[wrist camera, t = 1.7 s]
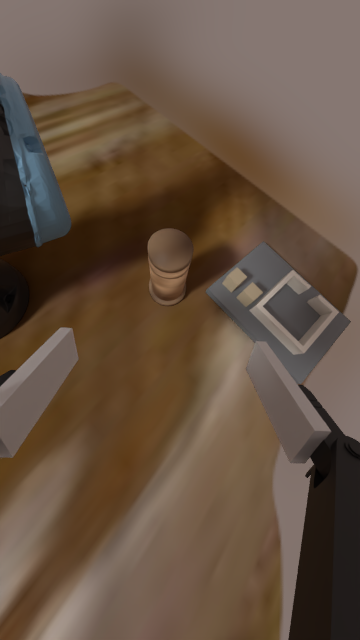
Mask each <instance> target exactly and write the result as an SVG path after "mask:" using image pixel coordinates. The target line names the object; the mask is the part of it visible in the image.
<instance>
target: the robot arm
mask: <svg viewBox="0 0 360 640" xmlns="http://www.w3.org/2000/svg"><path fill="white" fill-rule="evenodd" d="M70 228H71V218H70V215H69V212H68V209H67V206H66V204H65V201H64V198H63V196H62V193H61V190H60V187H59V185H58V182H57V180H56V177H55V174H54V172H53V169H52V167H51V164H50V161H49V159H48V156H47V154H46V151H45V148H44V146H43V143H42V141H41V138H40V136H39V133H38V130H37V128H36V125H35V123H34V120H33V118H32V115H31V113H30V111H29V108H28V106H27V104H26V101H25V99H24V96H23V94H22V91H21V89H20V87H19V85H18V84H17V82H16V81H15V80H14V79H12V78H10V77H7V76H3V75H2V74H1V73H0V256H2V255H5V254H9V253H12V252H16V251H20V250H23V249H27V248H30V247H34V246H37V247H40V246H41V245H42V243H45V242H48V241H51V240H54V239H57V238H60V237H63V236H64V235H66V234H67V233H68V232H69V230H70ZM28 301H29V289H28V285H27V282H26V280H25V278H24V277H23V275H22V274H21V273H20V272H19V271H18V270H17V269H15V268H14V267H13V266H11V265H10V264H8V263H7V262H5V261H4V260H2V259H0V338H1V337H3V336H4V335H6V334H7V333H8V332H9V331H11V330H12V329H13V328H14V327H15V326H16V325H17V323H18V322H19V321H20V320H21V318H22V316H23V315H24V313H25V311H26V308H27V305H28ZM77 361H78V354H77V349H76V345H75V340H74V335H73V330H72V328H60V329H59V330H58V331H57V332H55V333H54V334H53V335H52V336H51V337H50V338H49V339H48V340H47V341H46V342H45V343H44V344H43V345H42V346H41V347H40V348H39V349H38V350H37V351H36V352H35V353H34V354H33V355H32V356H31V357H30V358H29V359H28V360H27V361H26V362H25V363H24V364H23V365H22V366H21V367H20V368H19V369H18V370H10V371H8V372H7V373H5V374H3V375H1V376H0V457H13V456H14V455H15V453H16V452H17V450H18V449H19V447H20V446H21V444H22V443H23V441H24V440H25V438H26V437H27V435H28V434H29V432H30V431H31V429H32V428H33V426H34V425H35V423H36V422H37V420H38V419H39V417H40V416H41V414H42V413H43V412H44V410H45V409H46V407H47V406H48V404H49V403H50V401H51V400H52V398H53V397H54V395H55V394H56V392H57V391H58V389H59V388H60V386H61V385H62V383H63V382H64V380H65V379H66V377H67V376H68V374H69V373H70V371H71V370H72V368H73V367H74V365H75V364H76V362H77ZM246 370H247V372H248V374H249V376H250V379H251V381H252V383H253V385H254V387H255V389H256V391H257V393H258V396H259V398H260V400H261V402H262V404H263V406H264V408H265V410H266V413H267V415H268V417H269V419H270V421H271V423H272V425H273V427H274V430H275V432H276V434H277V436H278V438H279V440H280V442H281V444H282V447H283V449H284V451H285V453H286V455H287V457H288V459H289V461H290V463H305V462H306V461H307V460H308V459H309V458H311V459H312V461H313V463H314V465H313V466H312V467H311V469H310V470H309V471H308V472H307V473H306V475H305V476H306V477H307V478H308V477H309V476H310V475H311V478H310V486H309V493H308V500H307V508H306V515H305V522H304V530H303V537H302V544H301V552H300V559H299V566H298V574H297V581H296V589H295V596H294V603H293V610H292V618H291V626H290V632H289V640H360V443H359V442H358V441H356V440H355V439H353V438H351V437H348V436H345V435H344V434H343V432H342V431H341V430H340V429H339V427H338V426H337V425H336V423H335V422H334V421H333V419H332V418H331V417H330V416H329V414H328V413H327V412H326V411H325V409H324V408H322V405H321V404H320V403H319V402H318V401H317V399H316V398H315V396H314V395H313V394H312V393H311V392H310V391H309V390H308V389H307V388H306V387H304V386H303V385H297V384H296V382H295V381H294V379H293V378H292V377H291V375H290V374H289V373H288V371H287V370H286V369H285V367H284V366H283V364H282V363H281V362H280V360H279V359H278V358H277V356H276V355H275V353H274V352H273V351H272V349H271V348H270V347H269V345H268V344H267V343H266V342H263V341H256V342H255V345H254V348H253V351H252V353H251V356H250V359H249V362H248V364H247V367H246Z"/></svg>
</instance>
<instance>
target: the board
mask: <svg viewBox="0 0 360 640" xmlns="http://www.w3.org/2000/svg"><path fill="white" fill-rule="evenodd" d="M206 293H207V294H208V295H209V296H210V297H211V298H212V299H213V300H214V301H215V302H216V303H217V304H218V305H219V306H220V307H221V308H222V309H223V310H224V312H225V313H226V314H227V315H228V316H229V317H230V318H231V319H232V320H233V321H234V322H235V323H236V324H237V325H238V326H239V327H240V328H241V329H242V330H243V331H244V332H245V333H246V334H247V335H248V336H249V337H250V338H251V339H252V340H253V341H254V342H256V341H263V342H266V343H267V344H268V345H269V347H270V348H271V349H272V351H273V352H274V353H275V355H276V356H277V358H278V359H279V360H280V362H281V363H282V364H283V366H284V367H285V369H286V370H287V371H288V373H289V374H290V375H291V377H292V378H293V379H294V381H295V382H296V384H301V383H302V382H303V381H304V380H305V378H306V377H307V376H308V375H309V373H310V372H311V371H312V370H313V368H314V367H315V366H316V365H317V363H318V362H319V361H320V360H321V358H322V357H323V356H324V355H325V353H326V352H327V351H328V350H329V348H330V347H331V346H332V345H333V343H334V342H335V341H336V340H337V338H338V337H339V336H340V335H341V333H342V332H343V331H344V330H345V328H346V327H347V326H348V325H349V323H350V322H351V321H350V320H348V318H346V317H345V316H344V315H343V314H342V313H341V312H340V311H339V310H338V309H337V308H336V307H334V306H333V305H332V304H331V303H330V302H329V301H328V300H327V299H326V298H325V297H324V296H322V295H321V294H320V293H319V292H318V291H317V290H316V289H315V288H314V287H313V286H312V285H310V284H309V283H308V282H307V281H306V280H305V279H304V278H303V277H302V276H301V275H300V274H299V273H297V272H296V271H295V270H294V269H293V268H292V267H291V266H290V265H289V264H288V263H287V262H285V261H284V260H283V259H282V258H281V257H280V256H279V255H278V254H277V253H276V252H275V251H273V250H272V249H271V248H270V247H269V246H268V245H267V244H266V243H265V242H264V241H263V242H262V243H261V244H260V245H258V246H257V247H256V248H255V249H254V250H252V251H251V252H250V253H249V254H248V255H247V256H245V257H244V258H243V259H242V260H241V261H240V262H238V263H237V264H236V265H235V266H234V267H232V268H231V269H230V270H229V271H228V272H227V273H225V274H224V275H223V276H222V277H221V278H219V279H218V280H217V281H216V282H215V283H214V284H212V285H211V286H210V287H209V288H208V289H207V290H206Z"/></svg>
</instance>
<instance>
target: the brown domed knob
mask: <svg viewBox="0 0 360 640" xmlns="http://www.w3.org/2000/svg"><path fill="white" fill-rule="evenodd" d="M147 248H148V260H149V266H150V275H151V280H150V282H149V291H150V295H151V297H152V298H153V300H154V301H155V302H157V303H158V304H160V305H163V306H173V305H176V304H178V303H179V302H180V301H181V300H182V299H183V297H184V295H185V292H186V282H185V281H186V277H187V274H188V270H189V267H190V264H191V259H192V255H193V244H192V241H191V240H190V238H189V237H188V236H187V235H186V234H185V233H183V232H182V231H180V230H177V229H172V228H167V229H162V230H159V231H157V232H155V233H154V234H153V235H152V236H151V237H150V239H149V241H148V247H147Z"/></svg>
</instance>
